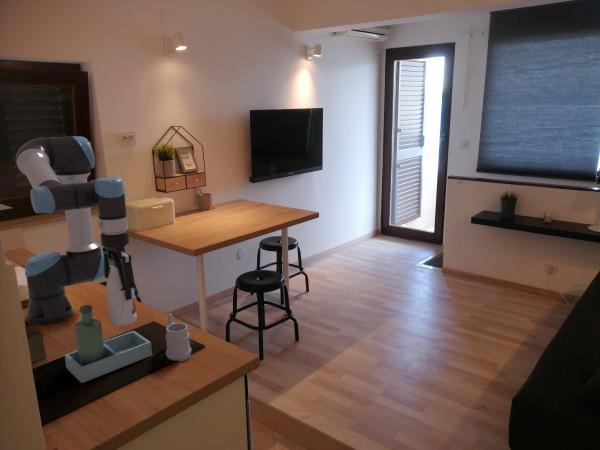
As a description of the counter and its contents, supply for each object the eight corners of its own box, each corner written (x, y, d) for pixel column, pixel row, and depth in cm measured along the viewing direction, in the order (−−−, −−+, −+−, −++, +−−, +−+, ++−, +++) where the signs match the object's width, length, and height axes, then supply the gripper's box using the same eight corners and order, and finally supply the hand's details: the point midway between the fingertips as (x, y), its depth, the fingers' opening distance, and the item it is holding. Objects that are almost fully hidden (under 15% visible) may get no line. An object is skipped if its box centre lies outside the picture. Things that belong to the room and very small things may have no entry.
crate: (66, 369, 141) (64, 354, 139) (135, 344, 155) (133, 330, 154) (81, 385, 133) (79, 368, 132) (152, 356, 148) (150, 342, 146)
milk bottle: (128, 327, 140) (121, 263, 135) (104, 325, 142) (97, 261, 137) (141, 316, 148) (136, 254, 143) (119, 314, 149) (112, 253, 144)
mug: (171, 365, 143) (168, 328, 140) (158, 349, 152) (155, 314, 149) (195, 358, 147) (193, 322, 144) (181, 342, 157) (179, 308, 154)
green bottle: (76, 368, 140) (68, 307, 136) (99, 359, 145) (93, 300, 141) (86, 377, 136) (78, 314, 131) (110, 367, 140) (103, 307, 136)
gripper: (86, 227, 142) (95, 299, 148) (117, 240, 128) (125, 319, 134) (111, 223, 147) (118, 292, 153) (143, 235, 133) (150, 311, 139)
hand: (121, 305), depth 143 cm, fingers closed on milk bottle, 7 cm apart
